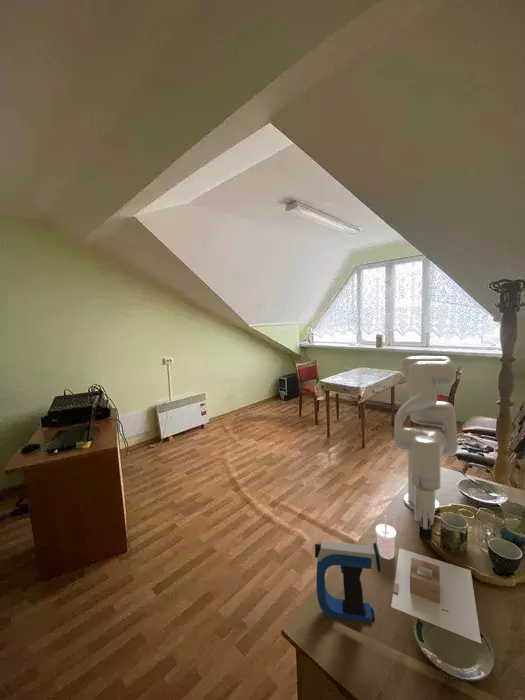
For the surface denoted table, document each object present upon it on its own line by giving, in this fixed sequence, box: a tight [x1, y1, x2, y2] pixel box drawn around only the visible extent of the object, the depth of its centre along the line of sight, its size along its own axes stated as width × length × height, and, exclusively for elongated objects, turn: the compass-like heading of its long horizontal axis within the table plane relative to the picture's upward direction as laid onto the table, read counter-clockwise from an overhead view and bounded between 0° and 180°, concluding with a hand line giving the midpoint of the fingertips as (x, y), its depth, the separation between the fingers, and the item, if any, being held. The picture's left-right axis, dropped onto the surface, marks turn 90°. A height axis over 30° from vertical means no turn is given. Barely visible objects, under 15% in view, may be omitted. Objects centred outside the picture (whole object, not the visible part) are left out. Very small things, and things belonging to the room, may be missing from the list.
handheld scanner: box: [314, 540, 383, 624], centre depth 75 cm, size 5×16×20 cm, turn 78°
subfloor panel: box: [390, 548, 482, 644], centre depth 81 cm, size 22×24×2 cm
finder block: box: [410, 557, 440, 604], centre depth 81 cm, size 7×7×5 cm
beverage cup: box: [374, 514, 397, 560], centre depth 93 cm, size 6×6×14 cm
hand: (425, 537), depth 87 cm, fingers closed
